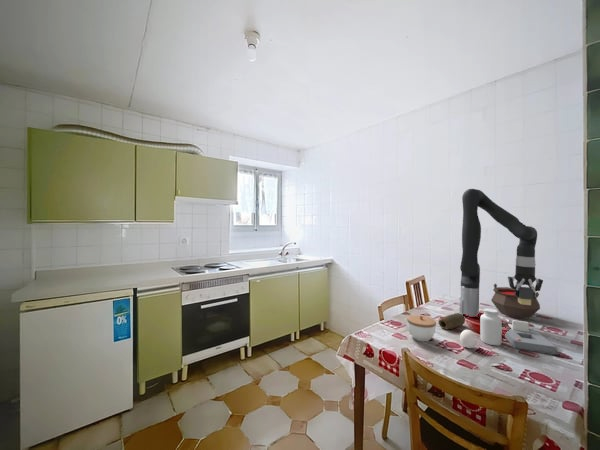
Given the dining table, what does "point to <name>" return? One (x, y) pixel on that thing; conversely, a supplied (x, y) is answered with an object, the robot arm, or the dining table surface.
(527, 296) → the plug
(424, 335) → the lidded bowl
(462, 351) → the dining table surface
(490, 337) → the pill bottle
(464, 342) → the egg
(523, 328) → the white l-shaped bracket
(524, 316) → the brown cauldron
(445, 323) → the olive brown hollow cylinder
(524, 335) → the socket
